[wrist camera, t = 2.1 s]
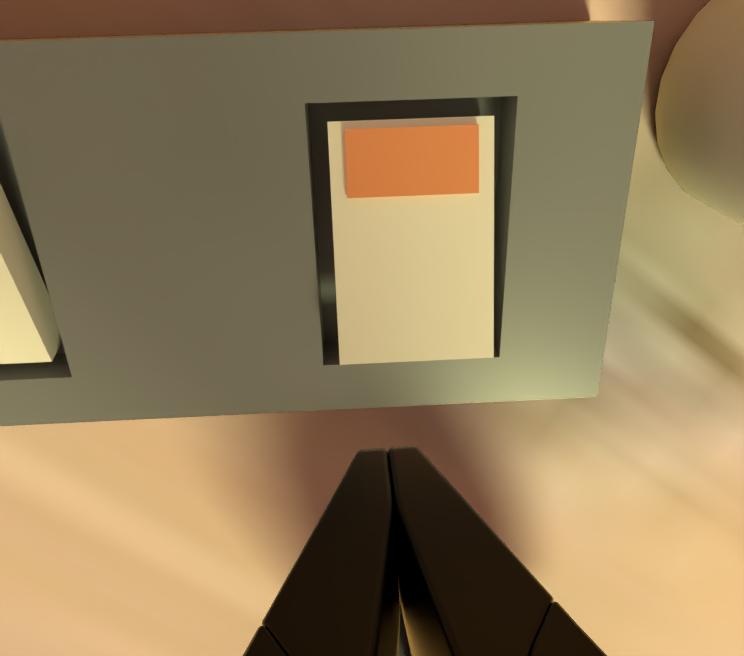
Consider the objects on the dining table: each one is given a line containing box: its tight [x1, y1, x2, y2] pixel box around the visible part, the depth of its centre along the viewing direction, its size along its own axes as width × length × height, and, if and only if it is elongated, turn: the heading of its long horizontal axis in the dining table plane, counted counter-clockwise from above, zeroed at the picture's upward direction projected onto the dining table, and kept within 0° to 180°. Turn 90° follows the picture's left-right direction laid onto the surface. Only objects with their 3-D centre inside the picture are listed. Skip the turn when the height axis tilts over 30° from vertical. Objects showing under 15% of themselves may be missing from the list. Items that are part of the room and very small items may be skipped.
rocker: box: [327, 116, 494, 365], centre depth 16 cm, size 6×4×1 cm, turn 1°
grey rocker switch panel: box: [0, 21, 655, 426], centre depth 18 cm, size 10×23×4 cm, turn 92°
